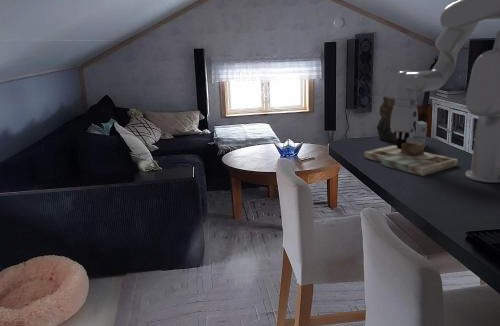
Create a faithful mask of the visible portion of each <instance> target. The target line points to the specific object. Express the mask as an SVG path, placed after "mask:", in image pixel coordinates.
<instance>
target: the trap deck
mask: <svg viewBox="0 0 500 326" xmlns="http://www.w3.org/2000/svg"><path fill="white" fill-rule="evenodd" d="M363 152H364V153H363V154H364V155H363V158H364V159H368V160H372V161H375V162H379V163H380V164H381V166H384V167H387V168H392V169H395V170H398V171H402V172H406V173H410V174H414V175H418V176H422V177H425V176H427V175H430V174H434V173H437V172H440V171H444V170H447V169H450V168H454V167H457V166H458V161H459V160H458V158H453V157H449V156H446V155H445V156H444V155H441V154H435V153H431V152H426V151H424V154H422V155H418V156H410V155H406V154H401V149H397V145H393V144H392V145H388V146H384V147H379V148H375V149H371V150H367V151H363Z"/></svg>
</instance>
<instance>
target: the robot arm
mask: <svg viewBox="0 0 500 326" xmlns="http://www.w3.org/2000/svg"><path fill="white" fill-rule="evenodd" d="M486 20H500V0H457V1H454V2H452V3H450V4H448V5H447V6H446V7H444V9H443V10H442V12H441V14H440V25H441V27H442V28H443V29H442V31H441V32H440V34H439V36H438V37H437V39H436V41H435V43H434V45H435V48H436V50H438V51H439V57H438V60H437V61H436V63H435V64H434V66H433V67H432V68H431V70H422V71H421V70H420V71H415V70H411V69H410V70H400V71H398V72H397V73H396V84H395V85H396V86H395V87H396V88H395V96H394V97H395V105H394V106H393V110H392V114H391V121H390V128H391V132H392V133H395V135H396V138H397V139H398V141H397V144H396V146H397V149H401V146H402V143H406V139H408V137H409V136H415V131H417V129H418V121H419V112H418V107H417V105H418V104H419V103H418V102H419V101H418V100H417V98H416V97H417V93H425V92H431V91H432V92H433V91H437V90H439V89H441V88H442V87H443V86H444V85H445V84H446V83H447V81H448V80H449V79H450V77H451V75H452V74H453V72H454V70H455V68H456V65H457V61H458V53H459V52H460V50H461V49H462V48H463V46H464V45H465V43H466V42H467V40H468V39H469V37H470V36H471V34H472V33H473V32H474V30H475V29H476V27H477V25H478V24H479V22H482V21H486ZM465 105H466V109H467V110H468V112H469V113H470V114H472V115H474V116H477V117H478V118H477V122H476V127H475V134H474V140H473V142H474V143H473V149H472V157H471V165H470V169H467V170H466V171H465V175H464V176H465V177H466V178H468V179H470V180H472V181H476V182H482V183H490V184H491V183H492V184H493V183H494V184H498V183H500V27H499V28H498V30H497V32H496V34H495V40H494V42H493V47H492V49H490V50H486V51H484V52H482V53H481V54H480V55H478V56H477V58H476V59H475V61H474V62H473V64H472V68H471V73H470V78H469V82H468V85H467V91H466V95H465Z"/></svg>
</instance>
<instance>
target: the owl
mask: <svg viewBox="0 0 500 326" xmlns="http://www.w3.org/2000/svg"><path fill="white" fill-rule="evenodd" d="M382 98H383V99H382V100H383V102H382V103H381V105H380V107H379V115H380V119H379V120H378V124H377V126H376V129H377V134H378V139H379V138H380V139H379V140H382V139H385V140H384V141H386V140H389V141H393V142H392V143H394V142H397V141H398V139H397V138H396V135H395V133H392V132H391V128H390V121H391V114H392V110H393V106H394V105H395V96H383V97H382ZM389 141H388V142H389Z"/></svg>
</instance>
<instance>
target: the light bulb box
mask: <svg viewBox="0 0 500 326" xmlns="http://www.w3.org/2000/svg"><path fill="white" fill-rule="evenodd" d="M427 127H428V123H427V122H425V121H423V120H420V121H419V120H418V129H417V131H415V136H409V137H408V139H406V142H411V141H412V142H417V143H421V144H424V148H426V140H427V129H428V128H427Z"/></svg>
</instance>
